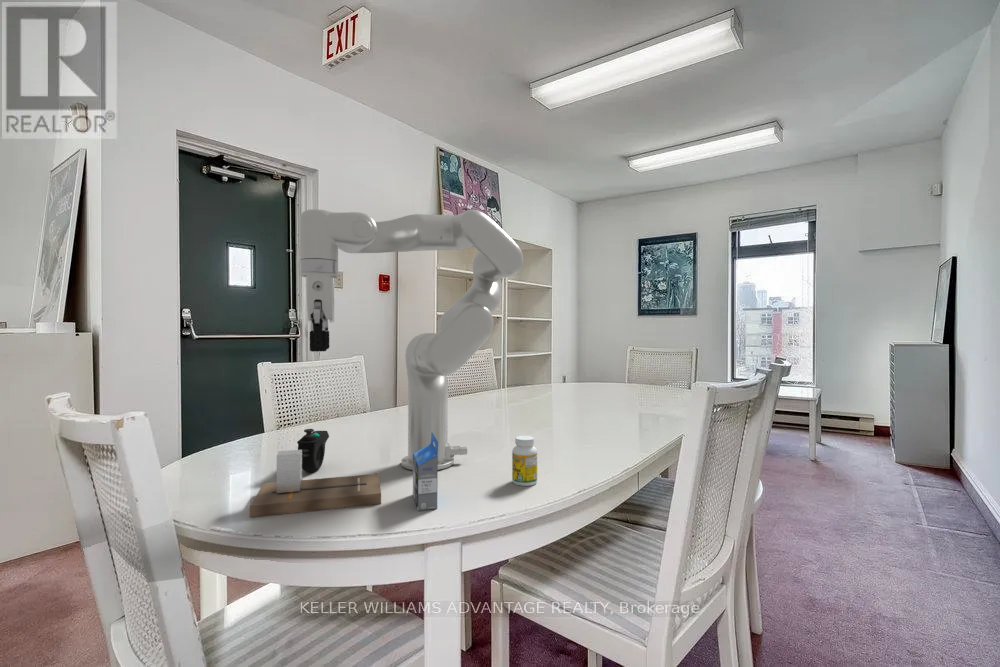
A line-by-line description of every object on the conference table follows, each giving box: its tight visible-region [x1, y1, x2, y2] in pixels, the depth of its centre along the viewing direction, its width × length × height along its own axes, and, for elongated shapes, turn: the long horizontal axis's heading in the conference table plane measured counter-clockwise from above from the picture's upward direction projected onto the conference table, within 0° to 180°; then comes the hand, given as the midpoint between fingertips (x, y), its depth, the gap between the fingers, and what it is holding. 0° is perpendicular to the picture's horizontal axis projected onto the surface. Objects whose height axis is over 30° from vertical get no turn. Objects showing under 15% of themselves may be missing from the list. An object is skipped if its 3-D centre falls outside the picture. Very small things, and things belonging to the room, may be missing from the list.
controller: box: [296, 428, 330, 472], centre depth 107 cm, size 4×12×10 cm, turn 5°
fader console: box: [249, 473, 382, 518], centre depth 89 cm, size 22×12×2 cm, turn 107°
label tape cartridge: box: [412, 432, 439, 512], centre depth 87 cm, size 9×4×12 cm, turn 17°
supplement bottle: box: [511, 435, 538, 487], centre depth 99 cm, size 5×5×10 cm
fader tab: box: [276, 449, 303, 493], centre depth 87 cm, size 4×3×7 cm
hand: (320, 350), depth 98 cm, fingers open, 9 cm apart
